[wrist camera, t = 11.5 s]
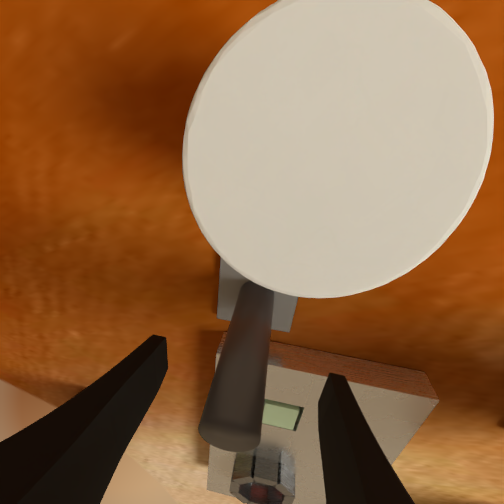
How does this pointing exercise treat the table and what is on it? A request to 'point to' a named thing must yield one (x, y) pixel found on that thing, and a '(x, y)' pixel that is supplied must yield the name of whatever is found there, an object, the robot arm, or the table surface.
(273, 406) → the pad
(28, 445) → the robot arm
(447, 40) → the supplement bottle
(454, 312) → the table surface
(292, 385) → the panel
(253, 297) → the dark grey cylinder
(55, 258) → the table surface
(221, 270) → the pad
